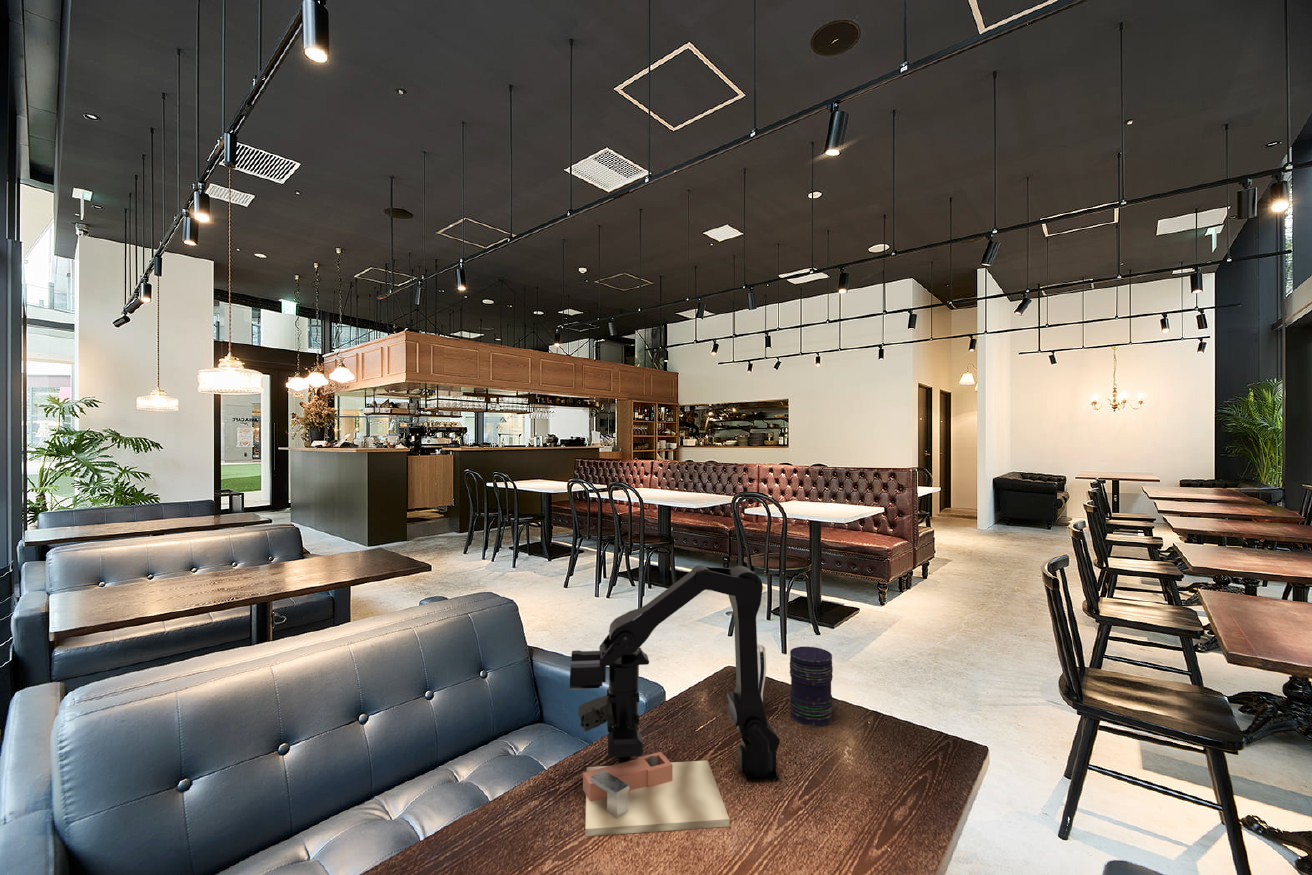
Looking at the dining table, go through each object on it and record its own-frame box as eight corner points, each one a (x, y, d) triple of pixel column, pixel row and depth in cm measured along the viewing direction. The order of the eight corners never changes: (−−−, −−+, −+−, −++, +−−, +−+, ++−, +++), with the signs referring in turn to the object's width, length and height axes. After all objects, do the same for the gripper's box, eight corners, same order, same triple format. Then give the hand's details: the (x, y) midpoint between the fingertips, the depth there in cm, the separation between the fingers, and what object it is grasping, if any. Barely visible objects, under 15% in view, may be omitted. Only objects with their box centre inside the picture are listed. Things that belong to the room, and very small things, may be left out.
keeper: (603, 794, 102) (603, 769, 102) (629, 811, 97) (629, 785, 97) (590, 801, 100) (590, 776, 100) (616, 819, 95) (616, 792, 95)
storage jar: (782, 709, 138) (782, 647, 138) (818, 705, 140) (818, 644, 140) (802, 729, 128) (802, 662, 128) (841, 724, 130) (841, 659, 131)
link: (660, 766, 110) (660, 751, 110) (672, 780, 106) (672, 764, 106) (582, 787, 104) (582, 771, 104) (590, 803, 99) (591, 785, 99)
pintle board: (707, 766, 113) (707, 743, 113) (729, 826, 95) (729, 799, 95) (586, 773, 110) (586, 750, 110) (585, 836, 92) (585, 808, 92)
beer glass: (766, 717, 133) (766, 653, 134) (736, 714, 135) (736, 651, 135) (766, 704, 140) (766, 643, 140) (737, 702, 142) (738, 641, 142)
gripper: (582, 667, 117) (581, 743, 117) (579, 710, 98) (578, 801, 98) (636, 666, 118) (635, 741, 118) (643, 708, 99) (642, 797, 99)
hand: (622, 767), depth 108 cm, fingers closed
